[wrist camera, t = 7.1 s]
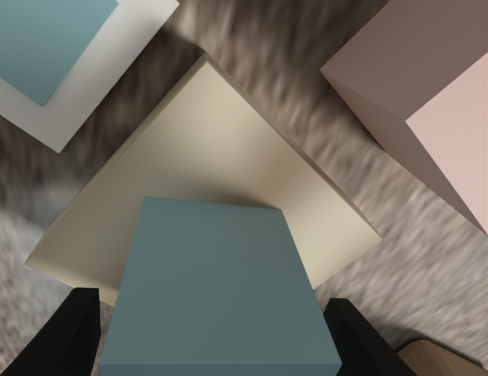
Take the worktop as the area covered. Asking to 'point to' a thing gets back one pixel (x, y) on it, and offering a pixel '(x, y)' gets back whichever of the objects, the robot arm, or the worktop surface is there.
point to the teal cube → (215, 297)
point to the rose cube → (425, 94)
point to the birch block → (202, 185)
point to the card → (68, 58)
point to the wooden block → (437, 361)
